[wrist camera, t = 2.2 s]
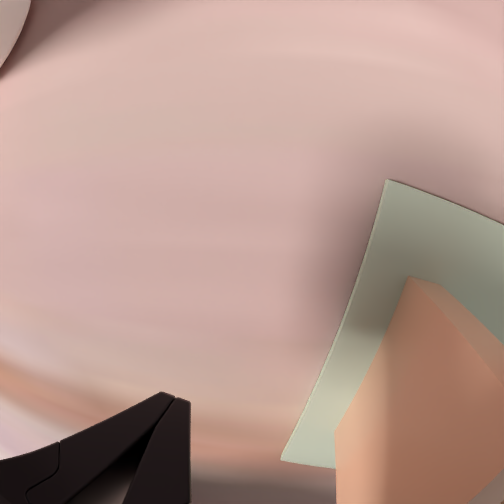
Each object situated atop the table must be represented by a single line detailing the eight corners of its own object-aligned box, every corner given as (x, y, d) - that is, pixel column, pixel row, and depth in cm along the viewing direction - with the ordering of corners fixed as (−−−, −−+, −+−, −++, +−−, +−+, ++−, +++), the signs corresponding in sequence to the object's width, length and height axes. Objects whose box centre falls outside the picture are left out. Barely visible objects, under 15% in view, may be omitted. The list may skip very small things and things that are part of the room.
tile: (365, 435, 12) (379, 582, 4) (334, 431, 12) (334, 585, 5) (443, 285, 10) (573, 424, 2) (408, 275, 10) (534, 431, 2)
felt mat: (457, 466, 12) (458, 470, 12) (281, 454, 14) (280, 460, 13) (572, 262, 9) (577, 264, 8) (385, 179, 10) (388, 179, 9)
